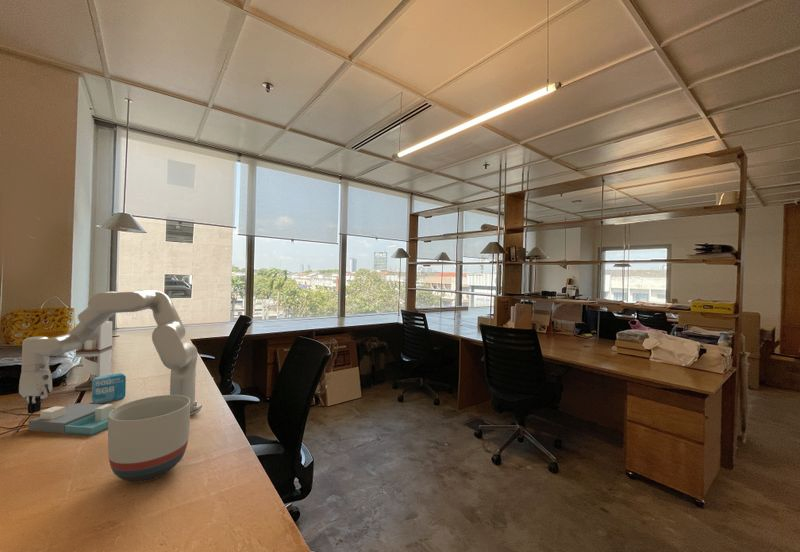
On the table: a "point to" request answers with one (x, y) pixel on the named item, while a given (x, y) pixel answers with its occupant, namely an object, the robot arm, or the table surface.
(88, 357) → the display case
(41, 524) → the table surface
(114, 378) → the data package
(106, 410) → the beige block
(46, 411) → the beige block
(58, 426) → the plate
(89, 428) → the box
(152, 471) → the planter
